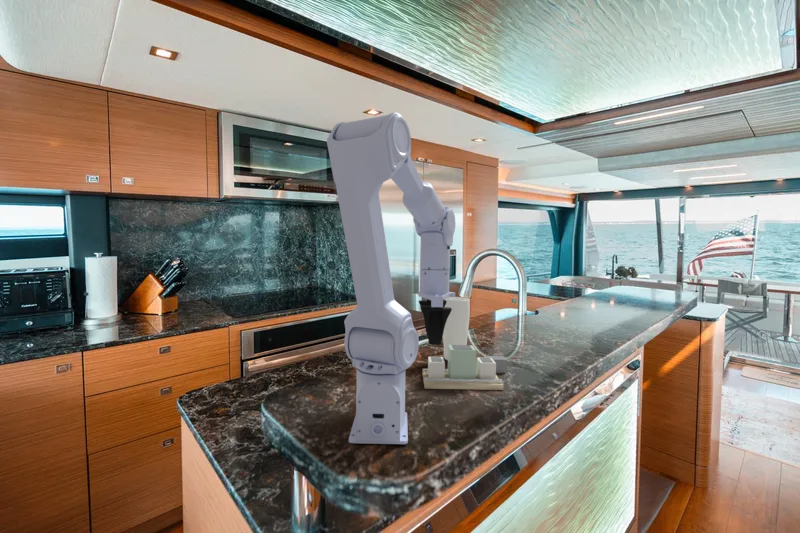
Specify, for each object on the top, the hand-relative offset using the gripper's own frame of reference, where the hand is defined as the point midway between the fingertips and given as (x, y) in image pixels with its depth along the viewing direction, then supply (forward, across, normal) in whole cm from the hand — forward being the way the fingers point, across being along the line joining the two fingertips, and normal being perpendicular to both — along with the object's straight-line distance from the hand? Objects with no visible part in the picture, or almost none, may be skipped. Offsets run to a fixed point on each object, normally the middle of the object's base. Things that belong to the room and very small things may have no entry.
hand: (433, 339), depth 73 cm
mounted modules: (+8, +3, -6) cm, 10 cm away
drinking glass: (+9, +19, -7) cm, 22 cm away
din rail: (+9, +3, -6) cm, 11 cm away
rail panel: (+9, +3, -6) cm, 11 cm away
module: (+8, +3, -6) cm, 10 cm away
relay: (+9, +11, -15) cm, 20 cm away
